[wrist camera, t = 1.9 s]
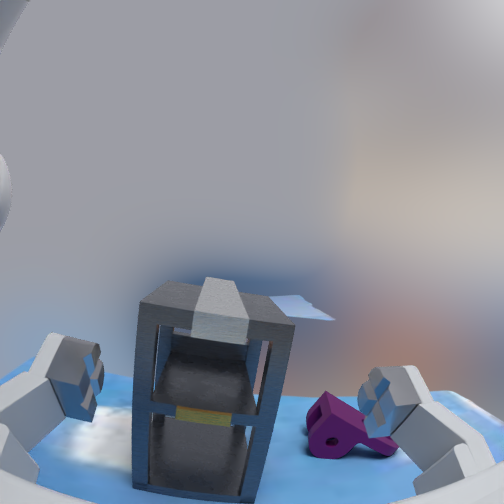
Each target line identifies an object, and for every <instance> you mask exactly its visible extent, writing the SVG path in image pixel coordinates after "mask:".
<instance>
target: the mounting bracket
mask: <svg viewBox="0 0 504 504" xmlns="http://www.w3.org/2000/svg"><path fill="white" fill-rule="evenodd" d="M365 417H366V416H365V415H364V414H363V413H361V412H359V411H358V410H356V409H354V408H353V407H351V406H350V405H348V404H346V403H345V402H343V401H341V400H340V399H338V398H336V397H335V396H333V395H332V394H330V393H328V392H327V391H325V392H324V393H323V394H322V396H321V397H320V398H319V399H318V400H317V401H316V402H315V404H314V405H313V406H312V407H311V408H310V409H309V411H308V413H307V416H306V424H307V429H308V432H309V434H308V443H309V449H310V451H311V453H312V454H313V455H314V456H316V457H318V458H324V459H337V458H340V457H342V456H344V455H345V454H346V453H348V452H349V451H350V450H351V449H352V448H353V447H354V446H355V445H356V444H357V443H362V444H364V445H366V446H368V447H370V448H371V449H373V450H375V451H377V452H379V453H381V454H383V455H386V456H391V455H392V454H393V453H394V452H395V451H396V450H397V449H398V448H399V446H398V445H397V444H396V443H395V442H394V441H393V440H392V438H391V436H385V437H376V438H369V437H368V434H367V431H366V428H365V425H364V419H365ZM333 438H335V439H333ZM327 439H333V440H327Z"/></svg>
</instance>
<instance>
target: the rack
mask: <svg viewBox="0 0 504 504" xmlns="http://www.w3.org/2000/svg"><path fill="white" fill-rule="evenodd" d="M202 288H203V286H197V285H191V284H185V283H179V282H174V281H167V282H166V283H164V284H163V285H162V286H160V287H159V288H157V289H156V290H155V291H153V292H152V293H151V294H149V295H148V296H147V297H145V298H144V299H143V300H141V301H140V305H139V315H138V325H137V336H136V348H135V362H134V363H135V364H134V378H133V400H132V482H133V488H134V489H139V490H144V491H148V492H153V493H159V494H164V495H170V496H176V497H183V498H190V499H198V500H207V501H217V502H229V503H247V504H254V501H255V498H256V494H257V490H258V487H259V483H260V479H261V476H262V472H263V468H264V464H265V460H266V456H267V452H268V448H269V444H270V440H271V436H272V432H273V428H274V423H275V419H276V415H277V411H278V406H279V402H280V397H281V393H282V388H283V384H284V379H285V374H286V370H287V364H288V360H289V355H290V350H291V345H292V340H293V335H294V330H295V324H294V323H293V322H292V321H291V320H290V319H289V318H288V317H287V316H286V315H285V314H284V313H283V312H282V311H281V310H280V309H279V308H278V306H277V305H276V304H275V303H274V302H273V301H272V300H271V299H270V298H269V297H268V296H262V295H255V294H248V293H242V292H238V293H239V295H240V298H241V300H242V302H243V305H244V307H245V310H246V312H247V314H248V317H249V325H248V330H247V336H246V338H248V342H245V345H242V344H234V343H227V342H220V341H213V340H207V339H200V338H194V337H191V334H188V333H182V332H176V331H174V327H176V328H182V329H188V330H192V324H193V316H194V310H195V307H196V304H197V302H198V299H199V296H200V293H201V290H202ZM159 325H161V326H160V336H159V345H158V356H157V366H156V378H155V390H154V392H153V389H154V376H155V364H156V353H157V343H158V333H159ZM262 340H265V341H269V345H268V351H267V356H266V361H265V367H264V372H263V377H262V382H261V388H260V392H259V397H258V402H257V407H256V404H255V400H254V396H253V388H254V383H255V378H256V373H257V367H258V362H259V356H260V351H261V346H262ZM152 412H153V421H152ZM166 415H169V416H175V418H169V417H166ZM151 422H152V424H151ZM230 424H233V426H230ZM246 426H253V427H252V431H251V436H250V441H249V446H248V450H247V444H246V438H245V430H246Z"/></svg>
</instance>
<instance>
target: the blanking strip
mask: <svg viewBox="0 0 504 504" xmlns="http://www.w3.org/2000/svg"><path fill="white" fill-rule="evenodd" d="M248 325H249V317H248V314H247V312H246V310H245V307H244V305H243V302H242V300H241V298H240V295H239V293H238V290H237V288H236V285H235V283H234V281H229V280H223V279H217V278H210V277H206V279H205V282H204V285H203V288H202V290H201V293H200V296H199V299H198V302H197V304H196V307H195V310H194V316H193V324H192V331H191V337H194V338H200V339H207V340H213V341H220V342H227V343H234V344H242V345H245V342H246V336H247V330H248Z"/></svg>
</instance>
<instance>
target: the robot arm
mask: <svg viewBox="0 0 504 504" xmlns="http://www.w3.org/2000/svg"><path fill="white" fill-rule="evenodd" d="M29 1H30V0H0V54H1V51H2V49H3V47H4V45H5V43H6V41H7V39H8V37H9V35H10V33H11V31H12V29H13V27H14V26H15V24H16V22H17V20H18V19H19V17H20V15H21V14H22V12H23V10H24V9H25V7H26V6H27V4H28V2H29ZM11 198H12V183H11V178H10V173H9V170H8V167H7V164H6V162H5V160H4V158H3V157H2V155H1V154H0V231H1V229H2V228H3V226H4V224H5V221H6V219H7V216H8V214H9V210H10V205H11ZM100 353H101V351H100V346H99V344H97V343H93V342H89V341H85V340H81V339H77V338H73V337H68V336H64V335H60V334H56V333H52V332H51V333H50V334H49V335H48V336H47V337H46V339H45V341H44V343H43V345H42V346H41V348H40V350H39V352H38V354H37V356H36V358H35V360H34V362H33V364H32V366H31V368H30V370H29V372H25V371H24V372H22V373H20V374H19V375H17V376H16V377H14V378H12V379H11V380H9V381H8V382H6V383H4V384H3V385H1V386H0V504H97V503H94V502H90V501H86V500H83V499H79V498H76V497H72V496H69V495H66V494H63V493H60V492H57V491H54V490H51V489H48V488H45V487H43V486H40V485H37V484H36V481H37V477H38V473H39V470H40V469H39V467H38V465H37V463H36V462H35V461H34V460H33V459H32V458H31V456H30V455H29V454H28V452H29V451H30V450H31V449H32V448H33V447H34V446H36V445H37V444H38V443H39V442H40V441H41V440H42V439H43V438H44V437H45V436H47V435H48V434H49V433H50V432H51V431H52V430H53V429H54V428H55V427H56V426H58V425H59V424H60V423H61V422H62V421H63V420H64V419H65V418H66V417H70V418H74V419H78V420H82V421H87V422H91V423H92V421H93V417H94V414H95V410H96V407H97V402H96V399H95V396H97V395H98V394H99V393H101V390H102V386H103V380H104V366H103V362H102V361H101V360H100V359H99V356H100ZM368 376H369V380H368V381H366V382H365V383H364V384H362V386H361V388H360V389H359V392H358V398H357V400H358V406H359V410H360V411H361V412H362V413H363V414H364V415H365V416H366V417H365V419H364V425H365V428H366V431H367V434H368V437H369V438H376V437H385V436H391V438H392V440H393V441H394V442H395V443H396V444H397V445H398V446H399V447H400V448H401V449H402V450H403V451H404V452H405V453H406V454H407V455H408V456H409V458H410V459H411V460H412V461H413V462H414V463H415V464H416V465H417V466H418V467H419V468H420V469H421V470H422V471H423V473H422V474H421V475H419V476H418V477H417V478H415V480H414V481H413V485H414V488H415V492H416V495H417V496H413V497H410V498H407V499H403V500H400V501H396V502H392V503H388V504H504V460H503V461H501V462H499V463H497V464H496V463H495V460H494V458H493V456H492V454H491V452H490V450H489V447H488V445H487V443H486V441H485V439H484V437H483V435H481V434H480V433H479V432H477V431H476V430H475V429H473V428H472V427H471V426H469V425H468V424H467V423H465V422H464V421H463V420H462V419H460V418H459V417H458V416H456V415H455V414H454V413H452V412H451V411H450V410H448V409H447V408H446V407H444V406H443V405H442V404H441V403H439V402H438V401H436V402H434V400H433V398H432V396H431V394H430V392H429V390H428V388H427V386H426V384H425V382H424V380H423V379H422V376H421V375H420V373H419V371H418V369H417V368H416V367H415V366H393V367H392V366H391V367H375V368H374V369H372V370H371V372H370V373H369V375H368ZM65 416H66V417H65Z"/></svg>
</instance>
